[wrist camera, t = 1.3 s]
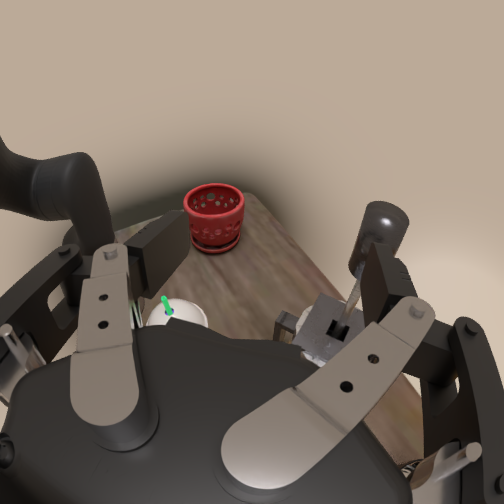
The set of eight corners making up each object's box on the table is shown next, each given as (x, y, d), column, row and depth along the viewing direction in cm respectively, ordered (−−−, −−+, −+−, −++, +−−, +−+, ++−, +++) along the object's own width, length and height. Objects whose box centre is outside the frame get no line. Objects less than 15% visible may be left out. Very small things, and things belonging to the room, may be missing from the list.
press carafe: (249, 389, 41) (248, 350, 30) (293, 323, 50) (305, 265, 39) (333, 430, 35) (371, 409, 24) (367, 357, 44) (404, 308, 33)
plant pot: (206, 268, 59) (199, 224, 51) (182, 235, 67) (173, 194, 59) (256, 244, 65) (256, 201, 56) (227, 215, 72) (224, 176, 64)
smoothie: (215, 390, 40) (192, 335, 26) (166, 383, 41) (119, 324, 27) (221, 346, 46) (206, 272, 32) (176, 341, 47) (142, 267, 33)
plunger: (290, 359, 34) (326, 223, 18) (315, 317, 39) (354, 178, 23) (342, 383, 31) (428, 266, 15) (361, 338, 36) (432, 209, 20)
